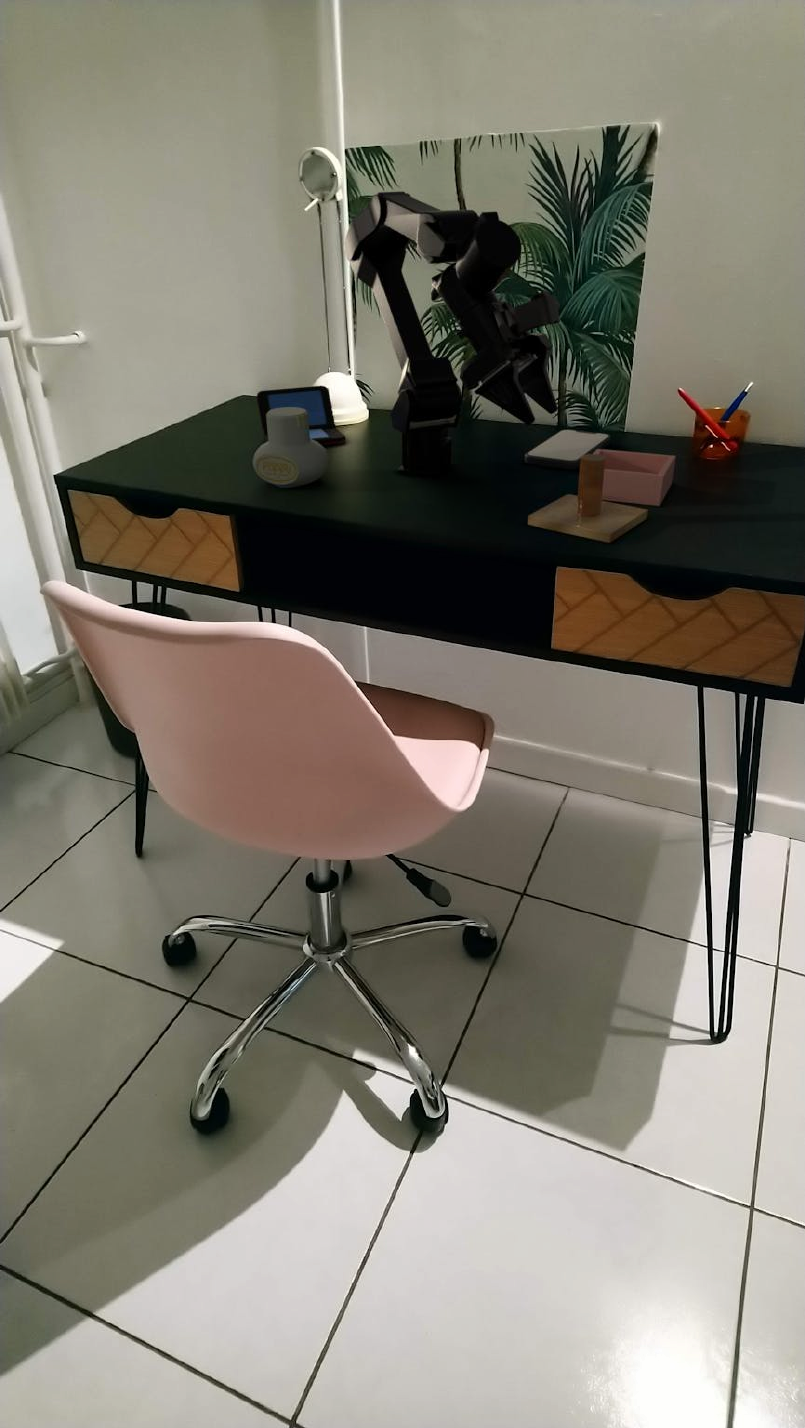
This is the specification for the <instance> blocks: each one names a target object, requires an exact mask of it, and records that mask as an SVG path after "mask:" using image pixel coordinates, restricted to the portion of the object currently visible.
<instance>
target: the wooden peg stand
mask: <svg viewBox="0 0 805 1428" xmlns="http://www.w3.org/2000/svg"><path fill="white" fill-rule="evenodd" d="M605 460H606V457H605V456H603V455H599V454H586V455H582V456H581V461H580V467H579V475H578V487H577V495H575V494H571V493H568V494H566V495H563V496H562V497H559V498H558V499H556V500H555V501H553V502H551V503H549V504H547V505H545V506H544V507H542V508H540V509H538V510H536V511H535V512H534V511H533V513H531V514H528V516H527V525H528V526H532V527H537V528H540V529H545V530H549V531H554V532H559V533H563V534H568V535H571V536H576V537H580V538H585V539H590V540H594V541H599V542H603V543H607V544H610V543H612V542H614V541H615V540H617V539H618V538H620V537H621V536H623V535H624V534H626V533H628V532H629V531H630V530H632V529H633V528H635V527H636V526H637V525H639V524H641V523H642V522H644V521H645V520H647V519H648V511H649V510H648V509H645V508H641V507H637V506H636V507H635V506H631V505H627V504H626V505H625V504H621V503H615V502H612V501H607V500H602V491H603V481H604V471H605Z"/></svg>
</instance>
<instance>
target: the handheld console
mask: <svg viewBox="0 0 805 1428" xmlns="http://www.w3.org/2000/svg"><path fill="white" fill-rule="evenodd" d="M256 402H257V406H258V413H259V417H260V418H259V419H260V422H261V428H262V430H263V433H262V434H263V440H264V441H266V442H268V431H267V420H266V414H267V413H268V411H270V410H272V409H276V408H283V407H298V408H303V409H305V410H306V411H307V412H308V421H309V432H310V439H312V440H314V441H316V442H318V443H319V444H320V445H322V446H327V445H335V444H342V443H344V442H345V441H346V435H345V434H344V433H343V432H342V431H340V430H339V429H338V428H337V427H336V423H335V417H334V412H333V405H332V401H331V395H330V390H329V389H328V387H327V386H325V385H314V386H302V387H291V388H281V389H280V388H279V389H267V390H260V391H258V392H257V393H256Z"/></svg>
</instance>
